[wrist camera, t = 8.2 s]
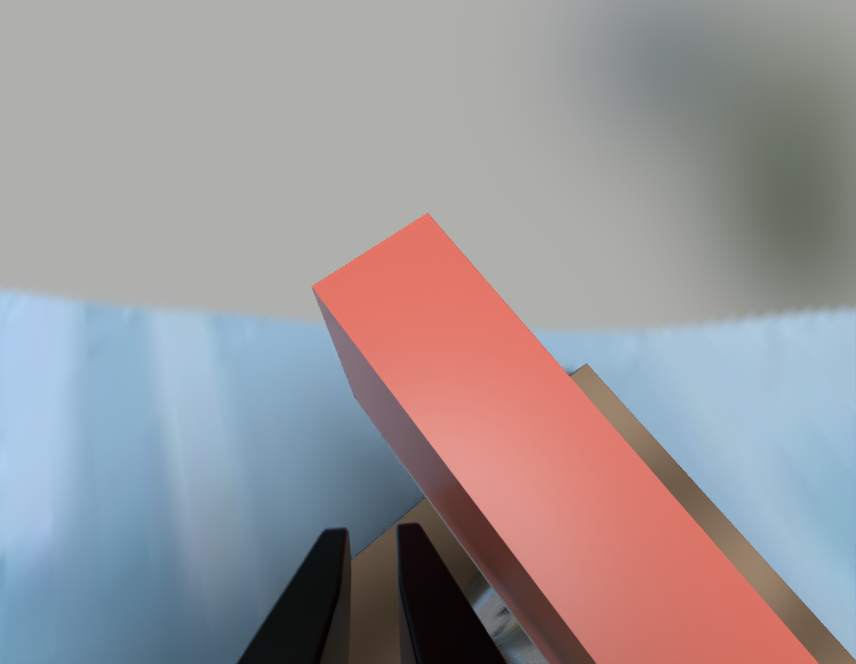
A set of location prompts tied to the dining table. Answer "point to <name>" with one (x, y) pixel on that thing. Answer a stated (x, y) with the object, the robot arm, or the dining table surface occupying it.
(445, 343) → the valve lever
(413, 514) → the mounting board
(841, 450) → the dining table surface
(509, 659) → the ball valve
